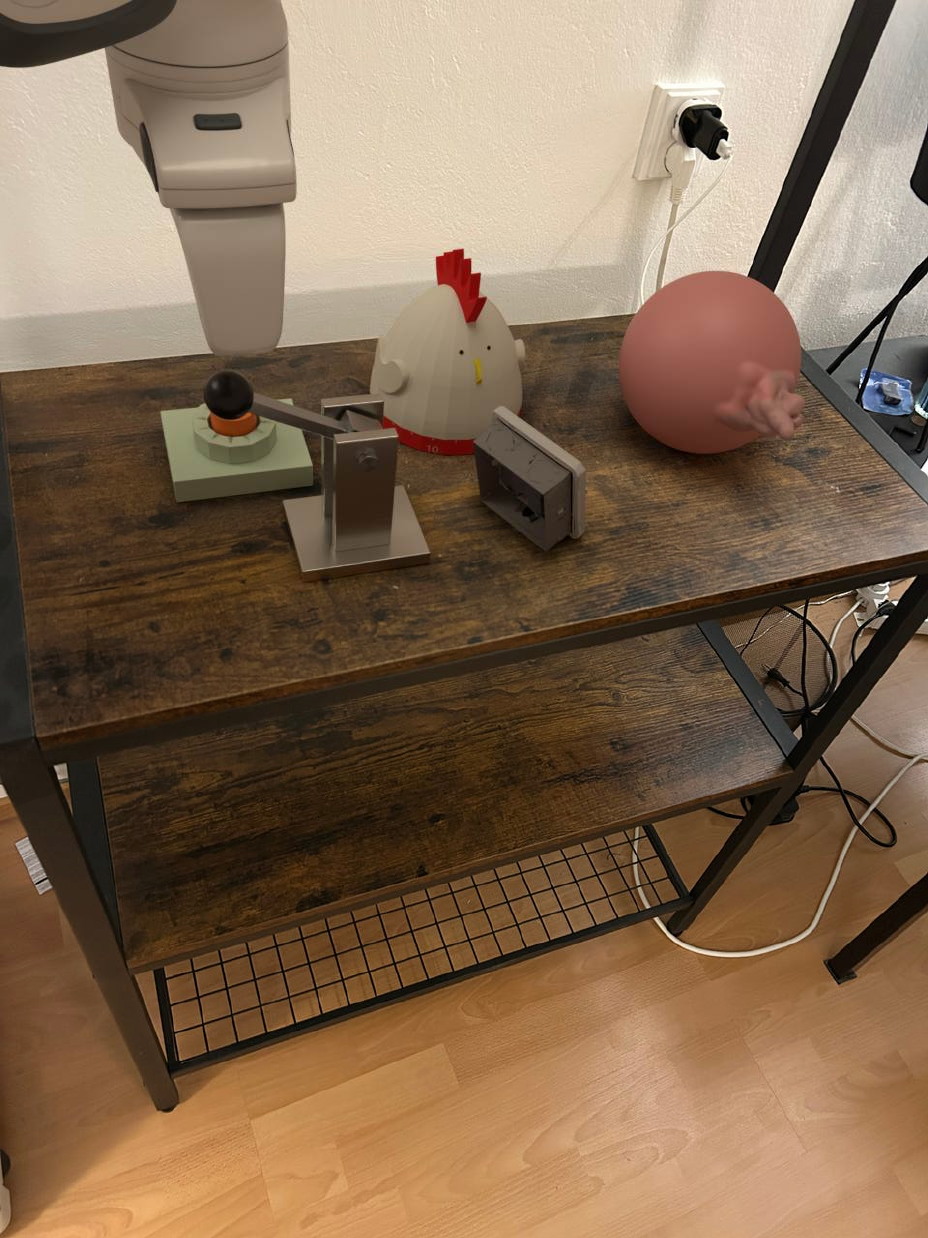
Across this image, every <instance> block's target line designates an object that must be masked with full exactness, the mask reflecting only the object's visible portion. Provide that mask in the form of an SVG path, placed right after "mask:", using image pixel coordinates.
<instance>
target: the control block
mask: <svg viewBox="0 0 928 1238" xmlns="http://www.w3.org/2000/svg"><path fill="white" fill-rule="evenodd" d="M277 400H278V401H281V402H284V403H287V404H290V405H293V406H295V404H294V401H293V399H292V398H281V399H277ZM160 418H161V425H162V432H163V437H164V442H165V447H166V453H167V458H168V464H169V469H170V475H171V480H172V485H173V491H174V492H173V493H174V496H175V502H176V503H183V502H184V503H185V502H192V501H200V500H207V499H209V500H210V499H216V498H224V497H232V496H239V495H247V494H256V493H265V492H272V491H280V490H288V489H289V490H290V489H296V488H297V489H298V488H303V487H312V486H314V465H313V461H312V458H311V455H310V452H309V449H308V446H307V445H308V444H307V443H306V440H305V436H304V433H303V430H302V429H299V428H296V427H292V426H289V425H286V424H283V423H280V422H277V421H273V420H270V419H267V418H264V417H261V416H258V415H257V426H256V428H255V430H254V431H253V432H252V433H250V434H248V435H246V436H240V437H227V436H223V435H220V434H218V433H217V432H215V430H214V429H213V428H212V424H211V415H210V410H209V409H208V407H207V406H206V403H205V402H204V403H202V404H200V405H199V406H197V407H188V408H178V409H169V410H160Z"/></svg>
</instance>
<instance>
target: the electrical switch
mask: <svg viewBox="0 0 928 1238" xmlns="http://www.w3.org/2000/svg"><path fill="white" fill-rule="evenodd" d="M491 418H492V423H493V424H492V425H491V426H489V427H488V428H487V429H486V431H485V432H484V433H483V434H482V435H481V436H479V437H478V438H477V439H476V440H474V441H473V447H474V453H473V454H474V462H475V469H476V476H477V483H478V491H479V497H480V500H481V502H482V503H483V504H484V505H486V506H487V507H488V508H490V509H491V510H492V511H493V512H495V513H496V514H497V515H498V516H500V517H501V518H502V519H503V520H505V521H506V522H507V523H508V524H510V525H511V526H512V527H514V528H515V529H516V530H517V531H518V532H520V533H521V534H522V535H524V536H525V538H528V539H529V540H530V541H531V542H532V543H534V544H535V545H536V546H538V547H539V548H540V549H542V550H543V551H544V552H548V551H549V550H550V549H552V547H554V546H555V544H557V543H558V542H560V541H563V540H564V538H565V537H567V536H569V537H570V538H571V539H573V540H576V539H579V538H580V536H582V535H583V534H584V533H585V532H586V531H585V529H586V527H585V526H586V525H585V524H586V474H587V473H586V471H587V470H586V468H585V466H584V465H583V463H582V462H581V461H580V460H579V459H578V458H576V457H574V456H573V455H572V454H570V452H567V451H566V450H565V449H563V448H562V447H561V446H559V444H557V443H555V442H553V441H552V440H551V439H550V438H548V437H547V436H545V435H544V434H542V433H541V432H540V431H539V430H537V429H536V428H534V427H533V426H532V425H530V424H529V423H527V421H525V420H523V419H522V418H521V417H518V416H516V415H515V414H513V413H512V412H511V411H509V410H508V409H507V408H505V407H504V406H499V407H498V408H496V409H495V410H494V411H493V412H492V416H491ZM527 507H528V508H529V509H530V510H531V511H532V513H533V514H531V515H530V516H524V515H523V512H524V511H525V510H526V508H527Z"/></svg>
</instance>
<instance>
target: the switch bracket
mask: <svg viewBox="0 0 928 1238" xmlns="http://www.w3.org/2000/svg"><path fill="white" fill-rule="evenodd" d="M346 410H348V411H351V412H354V413H357V414H360V415H363V416H366V417H369V418H372V419H375V420H378V421H380V424H381V426H382V429H379V430H370V431H361V432H352V433H343V434H335V435H334V442H333V439H330V438H327V437H324V436H321V435H320V442H321V443H320V444H321V445H320V451H321V452H320V453H321V454H320V458H321V460H320V464H321V466H320V473H321V474H320V475H321V477H320V480H321V481H320V485H321V488H320V492H321V493H320V494H321V495H313V496H305V497H298V498H297V497H296V498H290V499H283V500H282V512H283V516H284V520H285V524H286V527H287V530H288V534H289V538H290V541H291V545H292V549H293V552H294V556H295V559H296V563H297V566H298V570H299V573H300V577H301V580H302V583H308V582H315V581H321V580H322V581H323V580H328V579H333V578H340V577H346V576H347V577H348V576H354V575H361V574H367V573H373V572H380V571H388V570H393V569H401V568H406V567H407V568H408V567H414V566H421V565H427V564H430V562H431V553H432V552H431V550H430V548H429V544H428V543H427V540H426V537H425V535H424V533H423V530H422V527H421V525H420V523H419V522H420V521H418V518H417V515H416V513H415V510H414V507H413V504H412V502H411V501H410V498H409V494H408V492H407V491H406V488H405V485H404V484H400V485H396V479H397V477H396V476H397V466H398V465H397V464H398V452H399V441H398V439H399V436H398V434H397V431H396V429H395V428H388V429H383V414H384V400H383V397H382V395H381V393H377V394H370V393H367V394H359V395H347V396H339V397H328V398H321V400H320V412H321V413H320V415H323V416H326V417H329V418H332V419H335V420H339V421H340V420H341V418H342V417H343V415H344V414H345V412H346Z"/></svg>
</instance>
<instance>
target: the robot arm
mask: <svg viewBox="0 0 928 1238" xmlns="http://www.w3.org/2000/svg"><path fill="white" fill-rule="evenodd" d="M283 7H284V6H283V4H282V0H0V67H1V68H9V69H11V68H13V69H15V68H16V69H25V68H26V69H27V68H28V69H29V68H36V67H41V66H45V65H50V64H55V63H58V62H62V61H65V60H69V59H73V58H76V57H80V56H83V55H86V54H90V53H92V52H96V51H100V50H103V49H104V52H105V59H106V60H105V61H106V66H107V70H108V77H109V83H110V88H111V95H112V102H113V109H114V115H115V121H116V126H117V131H118V132H119V135H120V136H121V138H122V139H123V141H124V142H126V143H127V144H128V145H129V146H130V147H132V149H133V151H134V152H135V154H136V156H137V157H138V158H139V160H140V161H141V163H142V164H143V165H144V167H145V168H146V171H147V174H148V175H149V177H150V179H151V182H152V184H153V187H154V191H155V192H156V193H157V195H158V199H159V203H160V205H161V206H162V207H163V208H165V209H169V212H170V215H171V216H172V219H173V222H174V224H175V228H176V231H177V234H178V238H179V242H180V244H181V248H182V252H183V256H184V260H185V264H186V268H187V271H188V275H189V279H190V284H191V288H192V292H193V296H194V300H195V304H196V308H197V311H198V316H199V319H200V323H201V326H202V330H203V334H204V337H205V340H206V343H207V345H208V348H209V351H210V352H211V353H212V354H213V355H215V356H219V357H234V356H246V355H255V354H265V353H271V352H273V351H275V350H276V348H277V347H278V345H279V343H280V340H281V337H282V333H283V325H284V309H285V286H286V285H285V284H286V283H285V279H286V252H287V251H286V249H287V247H286V245H287V243H286V242H287V241H286V240H287V237H286V231H287V230H286V215H285V206H284V204H285V203H287V204H288V203H293V202H294V201H295V200H296V198H297V193H298V192H297V191H298V190H297V189H298V188H297V187H298V185H297V182H298V181H297V166H296V161H295V160H296V159H295V152H294V146H293V143H292V138H291V137H292V136H291V135H292V108H291V106H292V105H291V77H290V74H291V73H290V47H289V46H290V44H289V43H290V42H289V27H288V22H287V21H288V20H287V16H286V13H285V10H284V8H283Z"/></svg>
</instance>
